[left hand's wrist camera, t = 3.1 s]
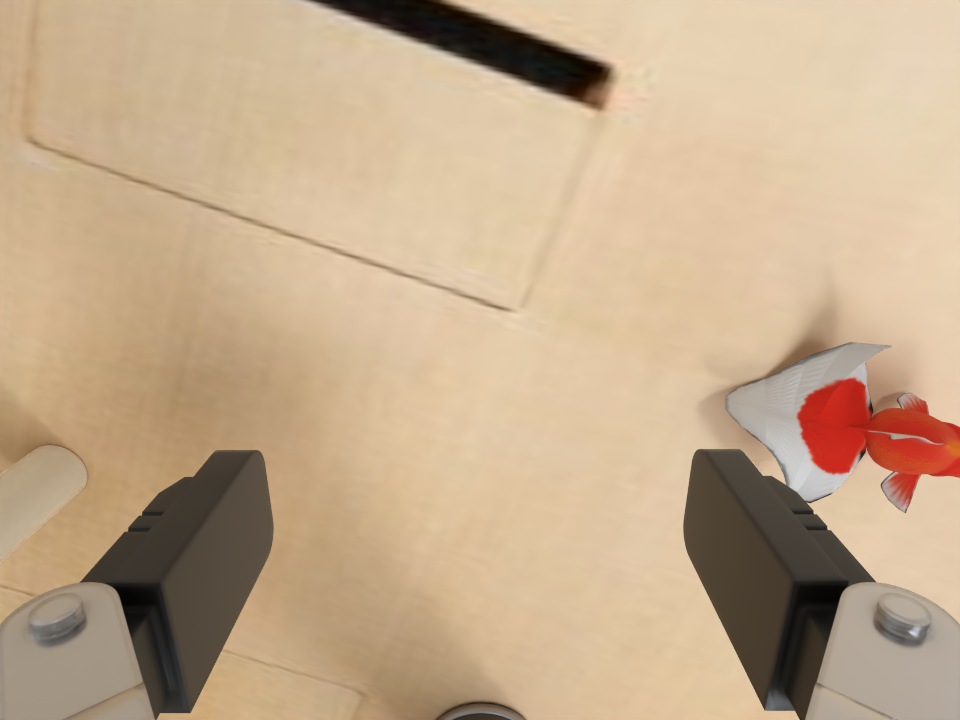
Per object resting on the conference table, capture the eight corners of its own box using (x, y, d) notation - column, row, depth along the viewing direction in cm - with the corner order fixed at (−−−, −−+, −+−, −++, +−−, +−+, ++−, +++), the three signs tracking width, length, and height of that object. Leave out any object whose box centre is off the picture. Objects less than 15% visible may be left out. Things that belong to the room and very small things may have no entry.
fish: (898, 564, 42) (980, 596, 32) (689, 445, 46) (707, 443, 37) (975, 430, 42) (1080, 422, 32) (760, 324, 46) (796, 290, 37)
